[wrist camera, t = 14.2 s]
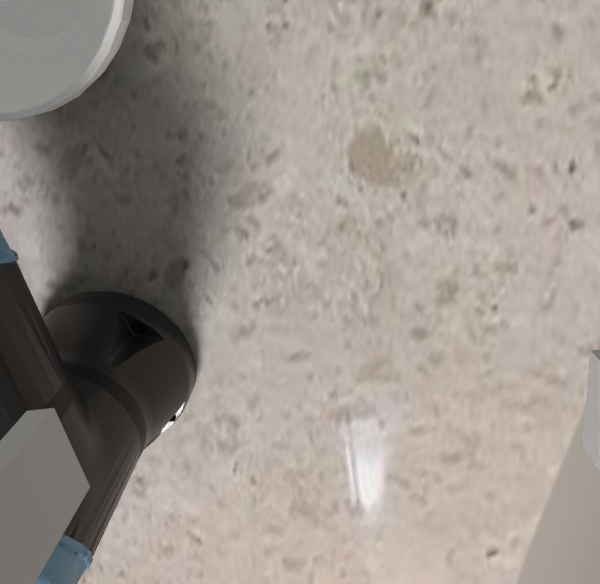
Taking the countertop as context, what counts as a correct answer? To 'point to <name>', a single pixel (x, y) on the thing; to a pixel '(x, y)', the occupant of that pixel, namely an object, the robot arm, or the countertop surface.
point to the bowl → (55, 50)
